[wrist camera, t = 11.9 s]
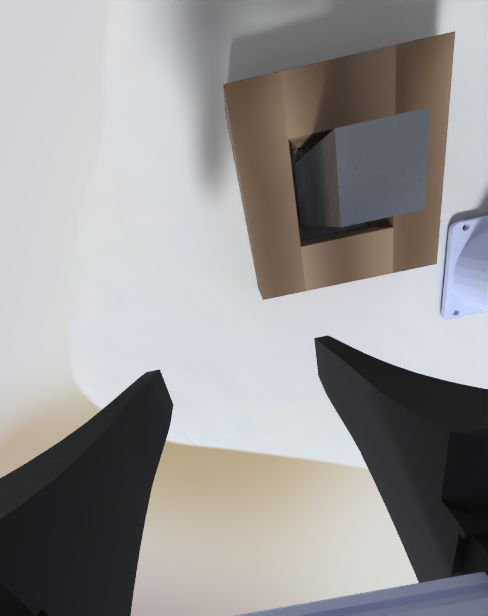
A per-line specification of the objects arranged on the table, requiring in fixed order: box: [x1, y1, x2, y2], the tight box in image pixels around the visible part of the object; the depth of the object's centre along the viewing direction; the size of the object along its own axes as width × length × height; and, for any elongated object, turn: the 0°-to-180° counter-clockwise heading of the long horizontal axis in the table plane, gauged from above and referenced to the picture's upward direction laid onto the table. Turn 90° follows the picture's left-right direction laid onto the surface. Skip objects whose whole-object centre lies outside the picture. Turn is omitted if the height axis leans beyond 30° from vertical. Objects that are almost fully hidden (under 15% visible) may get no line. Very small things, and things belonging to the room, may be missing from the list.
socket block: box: [224, 32, 455, 300], centre depth 16 cm, size 12×12×3 cm
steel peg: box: [294, 107, 431, 227], centre depth 14 cm, size 4×4×7 cm
